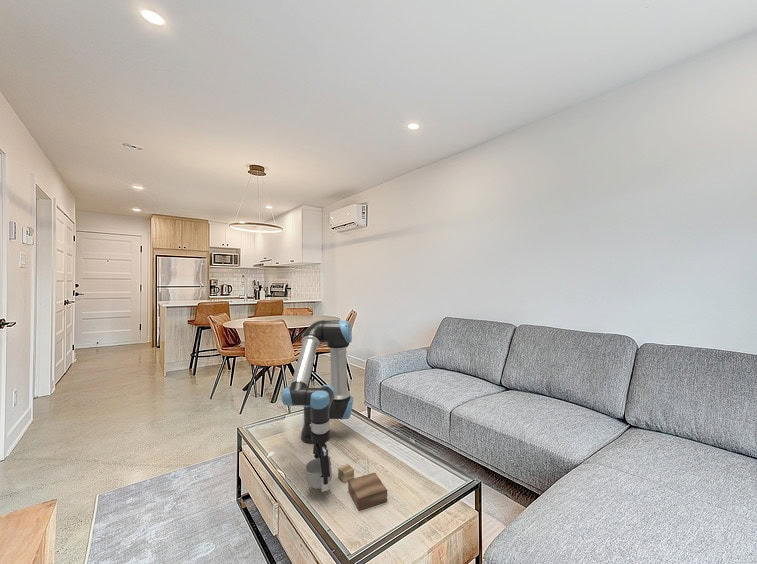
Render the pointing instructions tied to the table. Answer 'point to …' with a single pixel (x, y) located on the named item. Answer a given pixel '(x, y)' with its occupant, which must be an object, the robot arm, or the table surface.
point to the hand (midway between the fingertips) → (321, 481)
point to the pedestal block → (367, 491)
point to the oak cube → (345, 473)
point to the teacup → (315, 473)
